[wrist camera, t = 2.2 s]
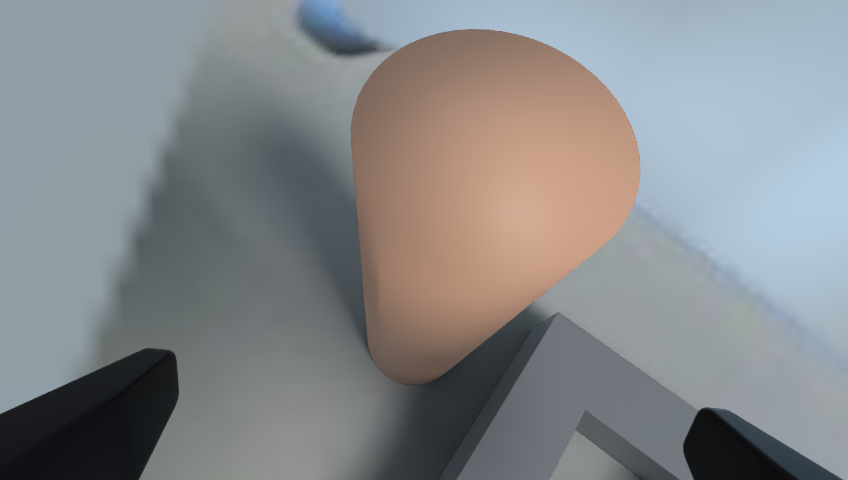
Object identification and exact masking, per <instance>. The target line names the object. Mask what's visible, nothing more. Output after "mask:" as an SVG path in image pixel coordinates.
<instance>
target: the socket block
mask: <svg viewBox="0 0 848 480" xmlns="http://www.w3.org/2000/svg"><path fill="white" fill-rule="evenodd" d="M697 413H698V410H696V409H695V408H694V407H692V406H691V405H689V404H688V403H687V402H685V401H684V400H682V399H681V398H679V397H678V396H677V395H675V394H674V393H672V392H671V391H670V390H668V389H667V388H665V387H664V386H662V385H661V384H660V383H658V382H657V381H655V380H654V379H653V378H651V377H650V376H648V375H647V374H646V373H644V372H643V371H641V370H640V369H638V368H637V367H636V366H634V365H633V364H631V363H630V362H629V361H627V360H626V359H624V358H623V357H621V356H620V355H619V354H617V353H616V352H614V351H613V350H612V349H610V348H609V347H607V346H606V345H604V344H603V343H602V342H600V341H599V340H597V339H596V338H595V337H593V336H592V335H590V334H589V333H587V332H586V331H585V330H583V329H582V328H580V327H579V326H578V325H576V324H575V323H573V322H572V321H571V320H569V319H568V318H566V317H565V316H563V315H562V314H561V313H559V312H558V313H556V314H554V315H553V316H551V317H550V318H548V319H547V320H545V321H544V322H542V323H541V324H539V325H537V326H536V327H534V328H533V329H532V330H531V332H530V334H529V335H528V337H527V338H526V340H525V342H524V343H523V345H522V346H521V348H520V350H519V351H518V353H517V354H516V356H515V358H514V359H513V361H512V362H511V364H510V366H509V367H508V369H507V370H506V372H505V374H504V375H503V377H502V378H501V380H500V382H499V383H498V385H497V386H496V388H495V390H494V391H493V393H492V394H491V396H490V398H489V399H488V401H487V402H486V404H485V406H484V407H483V409H482V410H481V412H480V414H479V415H478V417H477V419H476V420H475V422H474V423H473V425H472V427H471V428H470V430H469V431H468V433H467V435H466V436H465V438H464V439H463V441H462V443H461V444H460V446H459V447H458V449H457V451H456V452H455V454H454V455H453V457H452V459H451V460H450V462H449V463H448V465H447V467H446V468H445V470H444V471H443V473H442V475H441V476H440V478H439V479H438V480H549V479H550V477H551V475H552V473H553V472H554V470H555V468H556V466H557V464H558V462H559V460H560V458H561V456H562V454H563V452H564V450H565V448H566V446H567V444H568V443H569V441H570V439H571V437H572V435H573V433H574V431H575V429H576V430H577V431H578V432H580V433H581V434H582V435H584V436H585V437H586V438H588V439H589V440H590V441H592V442H593V443H594V444H596V445H597V446H598V447H600V448H601V449H602V450H603V451H605V452H606V453H607V454H609V455H610V456H611V457H613V458H614V459H615V460H617V461H618V462H619V463H621V464H622V465H623V466H625V467H626V468H627V469H629V470H630V471H631V472H633V473H634V474H635V475H637V476H638V477H639V478H641V479H642V480H693V477H692V475H691V472H690V470H689V467H688V465H687V462H686V460H685V457H684V452H683V443H684V440H685V438H686V435H687V433H688V431H689V429H690V427H691V425H692V423H693V421H694V418H695V416H696V414H697Z"/></svg>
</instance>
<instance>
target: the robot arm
mask: <svg viewBox="0 0 848 480" xmlns="http://www.w3.org/2000/svg"><path fill="white" fill-rule="evenodd" d="M178 396H179V384H178V372H177V360H176V356H175V354H174V352H172V351H171V350H164V349H155V348H146V349H143V350H141V351H138V352H136V353H134V354H132V355H130V356H127V357H125V358H123V359H121V360H119V361H116V362H114V363H112V364H110V365H108V366H105V367H103V368H101V369H99V370H97V371H94V372H92V373H90V374H88V375H85V376H83V377H81V378H79V379H77V380H74V381H72V382H70V383H68V384H66V385H63V386H61V387H59V388H57V389H55V390H52V391H50V392H48V393H46V394H44V395H41V396H39V397H37V398H35V399H33V400H30V401H28V402H26V403H24V404H22V405H19V406H17V407H15V408H13V409H10V410H8V411H6V412H4V413H2V414H0V480H139V479H140V476H141V474H142V472H143V470H144V468H145V466H146V464H147V462H148V460H149V458H150V456H151V454H152V452H153V450H154V448H155V446H156V444H157V442H158V440H159V438H160V436H161V434H162V432H163V430H164V428H165V426H166V424H167V422H168V420H169V418H170V416H171V414H172V412H173V410H174V408H175V406H176V403H177V400H178ZM683 452H684V457H685V460H686V462H687V465H688V467H689V470H690V472H691V475H692V477H693V480H843V479H841V478H839V477H838V476H836V475H834V474H833V473H831V472H829V471H828V470H826V469H825V468H823V467H821V466H820V465H818V464H816V463H815V462H813V461H811V460H810V459H808V458H806V457H805V456H803V455H801V454H800V453H798V452H797V451H795V450H793V449H792V448H790V447H788V446H787V445H785V444H783V443H782V442H780V441H778V440H777V439H775V438H773V437H772V436H770V435H769V434H767V433H765V432H764V431H762V430H760V429H759V428H757V427H755V426H754V425H752V424H750V423H749V422H747V421H745V420H744V419H742V418H740V417H739V416H737V415H736V414H734V413H732V412H730V411H728V410H725V409H717V408H708V407H706V408H702V409H701V410H699V411H698V413H697V414H696V416H695V418H694V421H693V423H692V425H691V427H690V429H689V431H688V433H687V435H686V438H685V440H684V443H683Z"/></svg>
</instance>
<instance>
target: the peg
mask: <svg viewBox="0 0 848 480" xmlns="http://www.w3.org/2000/svg"><path fill="white" fill-rule="evenodd" d="M351 145H352V158H353V170H354V182H355V194H356V206H357V219H358V231H359V243H360V255H361V267H362V280H363V292H364V304H365V316H366V328H367V341H368V348H369V351H370V355H371V357H372V359H373V361H374V363H375V364H376V366H377V367H378V368H379V369H380V371H381V372H382V373H384V374H385V375H386V376H387V377H389V378H390V379H392V380H394V381H396V382H399V383H402V384H406V385H422V384H427V383H430V382H432V381H434V380H436V379H438V378H440V377H441V376H442V375H444V374H445V373H446V372H447V371H449V370H450V369H451V368H452V367H454V366H455V365H456V364H457V363H458V362H460V361H461V360H462V359H463V358H465V357H466V356H467V355H468V354H470V353H471V352H472V351H473V350H475V349H476V348H477V347H478V346H480V345H481V344H482V343H483V342H484V341H486V340H487V339H488V338H489V337H491V336H492V335H493V334H494V333H496V332H497V331H498V330H499V329H501V328H502V327H503V326H504V325H505V324H507V323H508V322H509V321H510V320H512V319H513V318H514V317H515V316H517V315H518V314H519V313H520V312H522V311H523V310H524V309H525V308H526V307H528V306H529V305H530V304H531V303H533V302H534V301H535V300H536V299H538V298H539V297H540V296H541V295H543V294H544V293H545V292H546V291H547V290H549V289H550V288H551V287H552V286H554V285H555V284H556V283H557V282H559V281H560V280H561V279H562V278H564V277H565V276H566V275H567V274H569V273H570V272H571V271H572V270H573V269H575V268H576V267H577V266H578V265H580V264H581V263H582V262H583V261H585V260H586V259H587V258H588V257H590V256H591V255H592V254H593V253H594V252H596V251H597V250H598V249H599V248H601V247H602V246H603V245H604V244H606V243H607V242H608V241H609V240H610V239H611V238H612V237H613V236H614V235H615V234H616V233H617V232H618V230H619V229H620V227H621V226H622V225H623V223H624V222H625V220H626V219H627V217H628V215H629V213H630V211H631V209H632V207H633V205H634V202H635V199H636V195H637V192H638V188H639V187H638V186H639V179H640V157H639V151H638V146H637V141H636V138H635V135H634V132H633V129H632V127H631V125H630V122H629V120H628V118H627V116H626V114H625V112H624V111H623V109H622V108H621V106H620V105H619V103H618V101H617V100H616V98H615V97H614V96H613V95H612V94H611V92H610V91H609V90H608V89H607V87H606V86H605V85H604V84H603V83H602V82H601V81H600V80H598V78H597V77H596V76H594V74H592V73H591V72H590V71H589V70H587V69H586V68H585V67H584V66H582V65H581V64H580V63H578V62H577V61H575V60H574V59H572V58H571V57H569V56H568V55H566V54H564V53H562V52H560V51H559V50H557V49H555V48H553V47H551V46H548V45H546V44H544V43H541V42H539V41H536V40H534V39H530V38H527V37H524V36H521V35H516V34H512V33H507V32H502V31H494V30H479V29H468V30H455V31H449V32H444V33H438V34H435V35H431V36H428V37H425V38H422V39H420V40H417V41H415V42H412V43H410V44H408V45H406V46H405V47H403V48H401V49H400V50H398V51H396V52H395V53H393V54H392V55H391V56H390V57H388V58H387V59H386V60H384V61H383V62H382V63H381V64H380V65H379V66H378V68H377V69H376V70H375V71H374V72H373V73H372V74H371V76H370V77H369V79H368V80H367V81H366V83H365V84H364V86H363V88H362V90H361V92H360V94H359V96H358V99H357V102H356V105H355V108H354V111H353V117H352V125H351Z"/></svg>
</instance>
